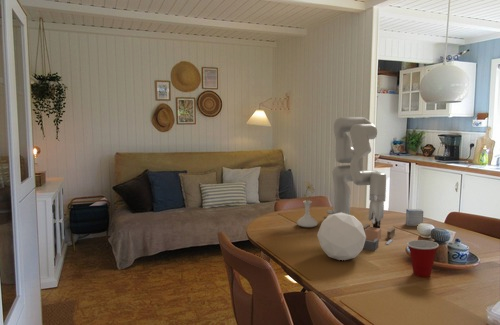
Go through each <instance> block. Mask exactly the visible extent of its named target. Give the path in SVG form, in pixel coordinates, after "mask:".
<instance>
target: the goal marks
mask: <svg viewBox="0 0 500 325" xmlns="http://www.w3.org/2000/svg"><path fill="white" fill-rule="evenodd" d="M393 240H394V239H392V238H391V239H388V241H387V242H386V243H385V245H387V246H388V245H389V244H391V243H392V242H393Z"/></svg>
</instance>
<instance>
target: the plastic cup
mask: <svg viewBox="0 0 500 325" xmlns="http://www.w3.org/2000/svg"><path fill="white" fill-rule="evenodd" d="M406 245H407V247H408V250H409V254H410V261H411V265H412V266H411V267H412V272H413V274H414V275H415V276H416V277H421V278H429V277H430V276H431V274H432V270H433V268H434V263H435V258H436V254H437V252H438V251H437V250H438V248H439V246H440V245H439V243H438V242H435V241H432V240H422V239H416V240H415V239H414V240H410V241H407V242H406Z"/></svg>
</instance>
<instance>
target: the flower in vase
mask: <svg viewBox="0 0 500 325" xmlns="http://www.w3.org/2000/svg"><path fill="white" fill-rule="evenodd" d="M304 185H305V187H306V190H305V193H303V197H304V198H305V200H303V201H302V203H303V205H304V210H305V211H304V215H303V216H302V217H300V218H299V219H298V220H297V221H296V224H297V226H298V227H302V228H315V227H316V226H317V225H318V221H317V220H316V219H315V218H314V217H312V216H311V214H310V208H311V204H312V203H313V201H311V200H308V199H309V198H311V195H309V196H308V197H307V191H309V192H310V193H313V194H314V193H315V188H314V185H313V184H311V182H310V181H308V180H305V181H304Z"/></svg>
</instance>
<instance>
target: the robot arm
mask: <svg viewBox="0 0 500 325" xmlns="http://www.w3.org/2000/svg"><path fill="white" fill-rule="evenodd" d="M333 132H334V133H333V134H334V138H335V150H334V153H335V161H336V162H337V163H338V164H345V165H337V166H335V167H334V168H332V181H333V210H331V209H327V210H326V212H327V215H332V214H336V213H340V212H342V213H345V214H348V215H351V187H350V185H349V183H348V182H353V183H354V184H355V185H357V186H369V196H368V197H369V198H368V199H369V201H370V202H369V206H368V207H369V208H368V221H371V222H372V223H371V224H372V227H374V228H381V222H382V221H381V220H383V219H384V214H385V202H386V198H387V197H386V192H387V174H386V173H385V172H380V171H378V170H374V169H371V170H370V169H368V170H367V169H366V170H364V157H365V156H368V155H369V154H370V153H371V152H372V148H371V143H370V140H374V139H376V138H377V135H378V129H377V126H376V125H375V124H374V123H373V122H371V121H370V120H369V119H367V118H366V117H363V116H341V117H338V118H336V119H335V120H334V123H333ZM348 133H349V134H348ZM351 143H352V145H351ZM348 164H349V165H348Z"/></svg>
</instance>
